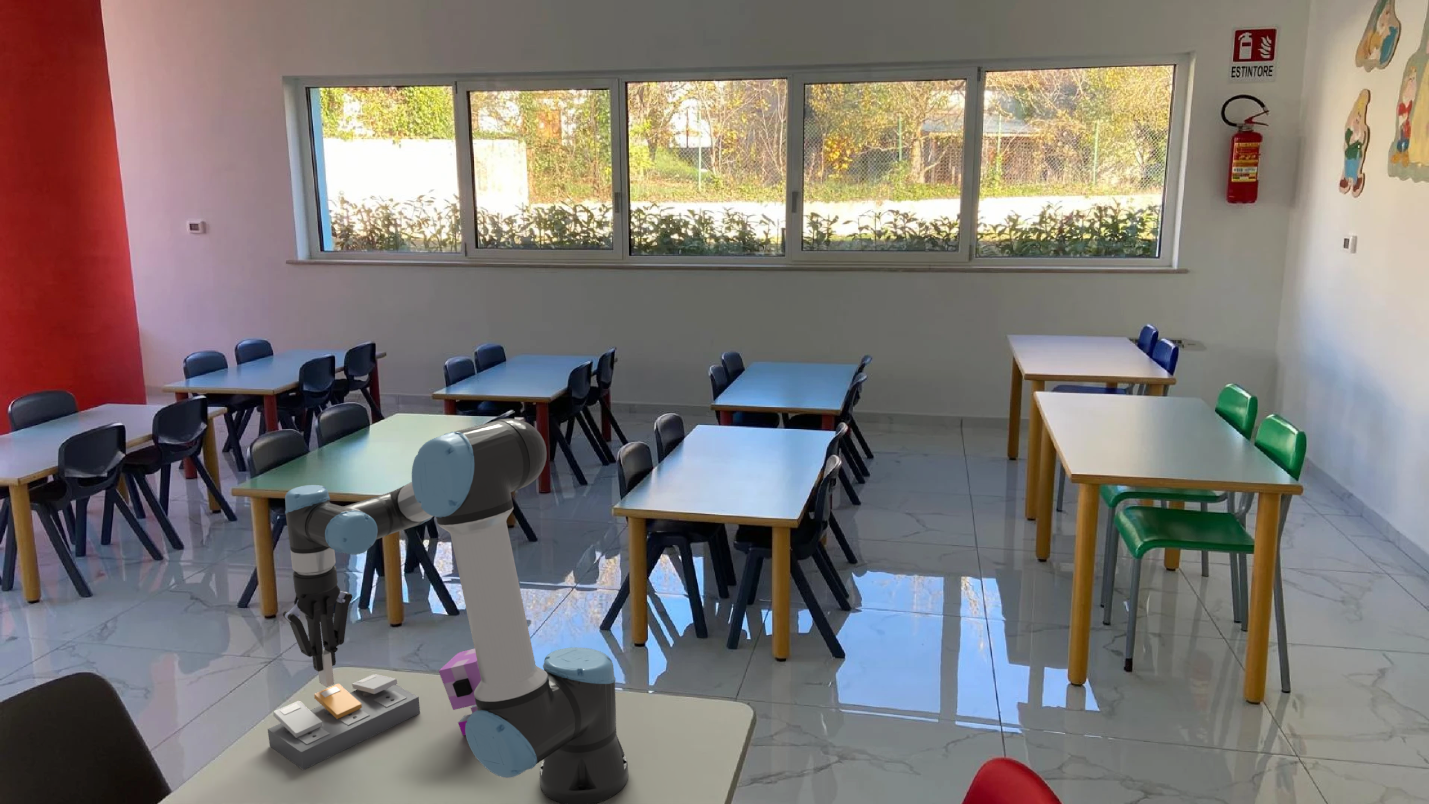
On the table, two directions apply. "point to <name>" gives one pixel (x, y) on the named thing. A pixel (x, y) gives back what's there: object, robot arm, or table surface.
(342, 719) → the power strip
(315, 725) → the rocker
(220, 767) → the table surface
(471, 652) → the toy
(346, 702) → the plate
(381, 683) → the rocker
